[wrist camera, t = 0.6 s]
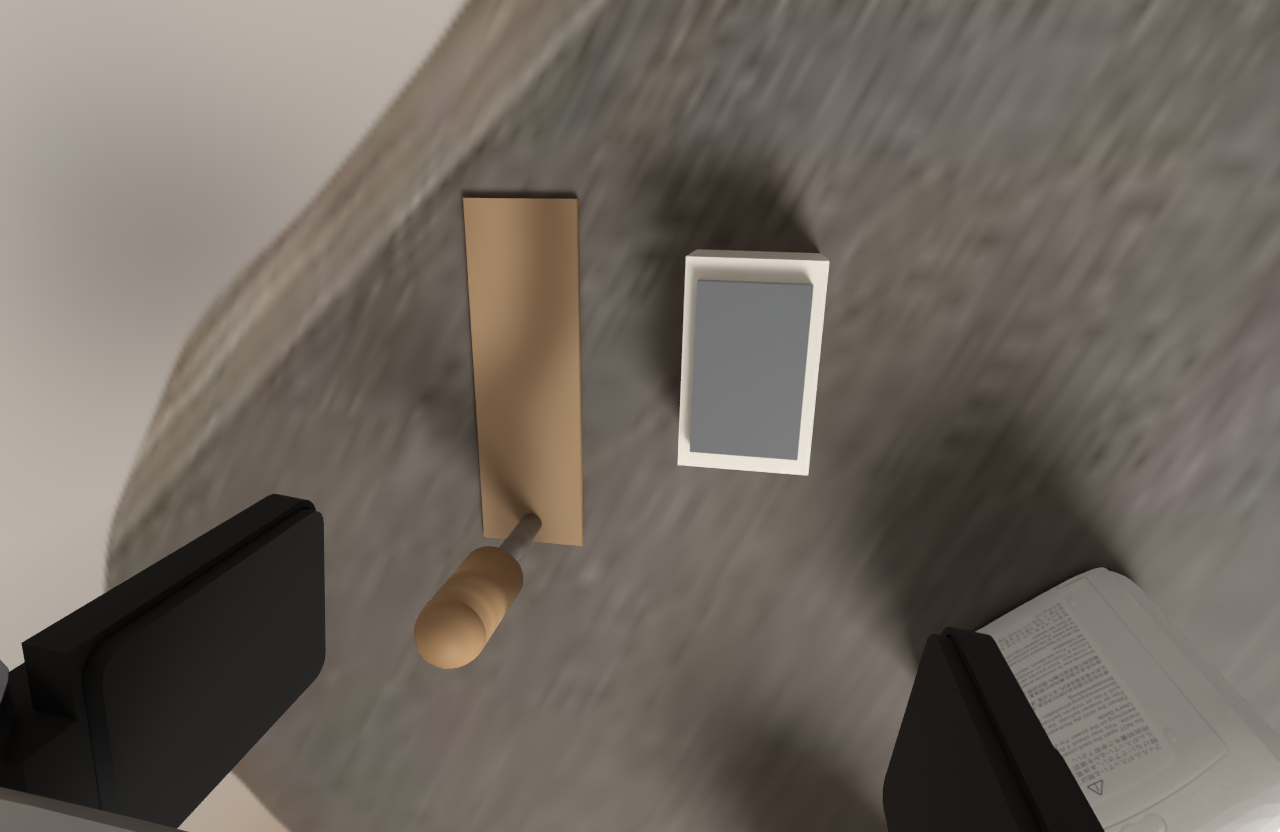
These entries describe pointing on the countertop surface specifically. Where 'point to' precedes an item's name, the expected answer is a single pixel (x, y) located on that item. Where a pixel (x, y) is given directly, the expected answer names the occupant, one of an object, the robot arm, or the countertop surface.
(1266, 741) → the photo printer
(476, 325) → the strip
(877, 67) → the countertop surface
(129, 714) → the robot arm
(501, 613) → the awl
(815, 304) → the white and grey block
